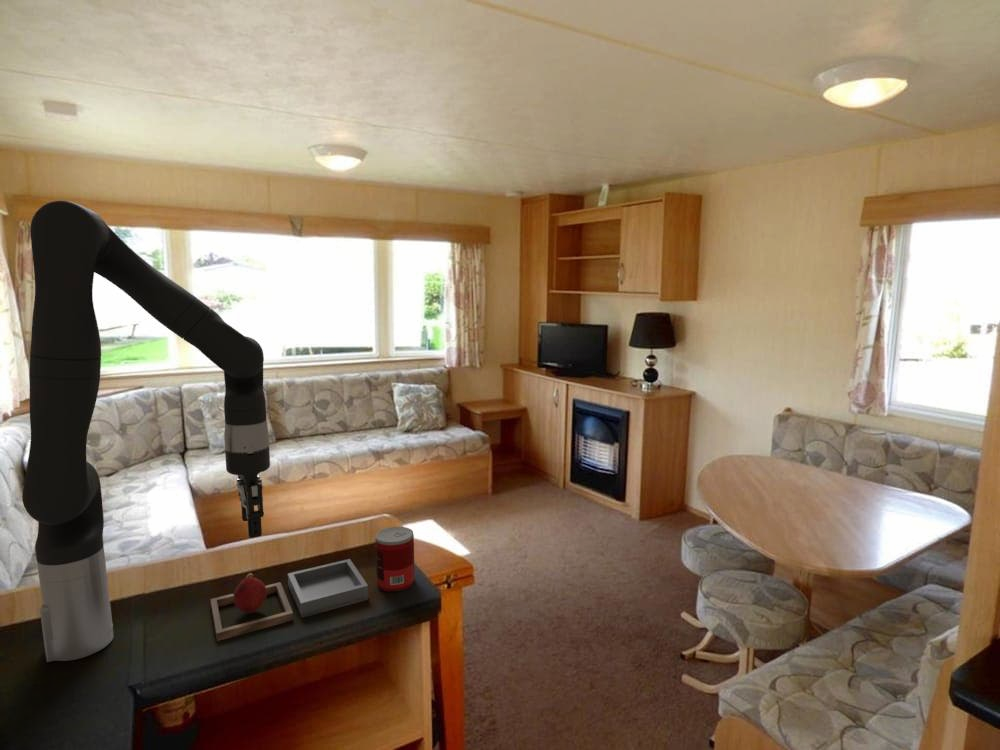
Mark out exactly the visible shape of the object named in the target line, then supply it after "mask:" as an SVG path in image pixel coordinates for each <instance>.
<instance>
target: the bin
mask: <svg viewBox="0 0 1000 750" xmlns="http://www.w3.org/2000/svg"><path fill="white" fill-rule="evenodd" d="M287 581H288V582H287V584H288V589H289V592H290V594H291V596H292V598H293V601H294V604H295V605H296V608H297V610H298V613H299V615H300V617H301V618H306V617H311V616H314V615H317V614H322V613H324V612H328V611H333V610H335V609H340V608H343V607H346V606H350V605H353V604H357V603H361V602H364V601H369V600H368V599H370V598H369V585H368V583H367V582H366V580H365V578H363V576H362V574H361V572H360V571H359V569H357V567H356V566H355V564H354V563H353V562H352V560H351V558H348V559H344V560H339V561H336V562H331V563H327V564H324V565H318V566H315V567H314V566H313V567H310V568H306V569H301V570H296V571H293V572H289V573H287Z"/></svg>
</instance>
